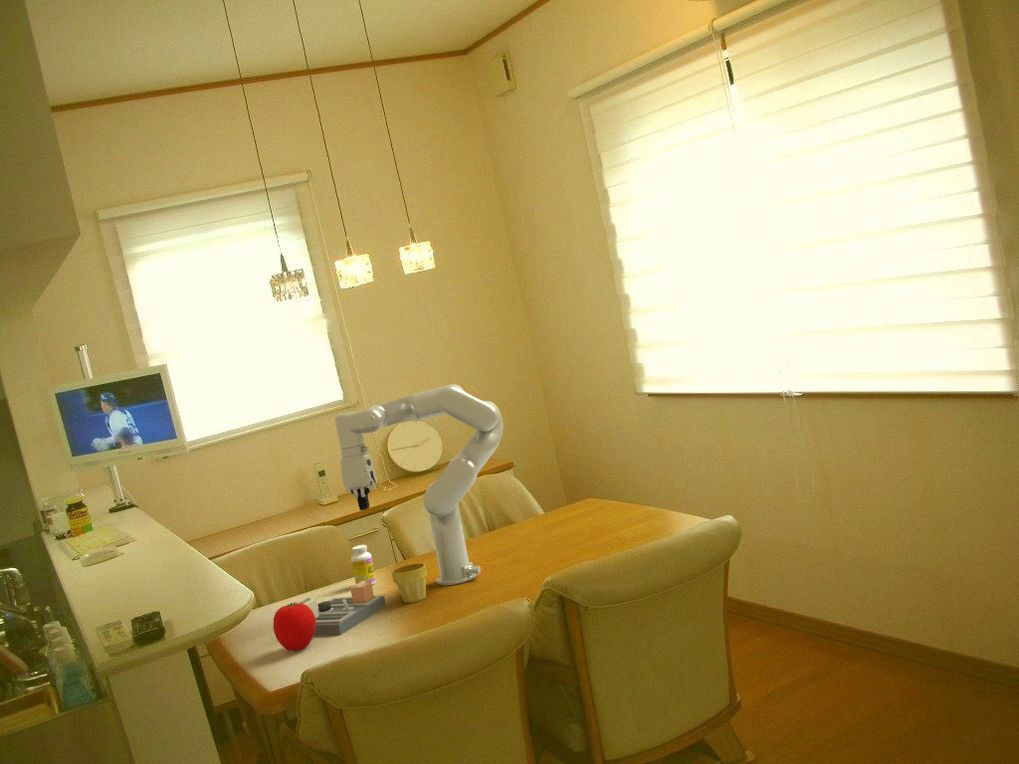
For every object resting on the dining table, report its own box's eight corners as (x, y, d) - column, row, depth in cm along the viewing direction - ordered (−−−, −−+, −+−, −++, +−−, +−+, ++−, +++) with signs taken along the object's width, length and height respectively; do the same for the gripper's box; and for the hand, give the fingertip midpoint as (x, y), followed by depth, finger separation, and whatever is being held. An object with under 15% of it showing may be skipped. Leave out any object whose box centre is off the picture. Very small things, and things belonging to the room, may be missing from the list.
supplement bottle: (372, 586, 329) (365, 548, 328) (353, 589, 331) (346, 550, 330) (379, 580, 336) (372, 542, 335) (360, 583, 337) (353, 545, 336)
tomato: (269, 657, 272) (260, 611, 272) (292, 642, 283) (283, 598, 282) (305, 655, 268) (296, 608, 267) (326, 640, 278) (317, 595, 278)
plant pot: (391, 602, 306) (384, 571, 305) (419, 592, 312) (413, 561, 311) (409, 606, 297) (402, 574, 297) (438, 595, 303) (432, 564, 303)
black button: (333, 607, 298) (332, 600, 298) (326, 611, 295) (325, 604, 295) (323, 607, 300) (322, 601, 300) (316, 611, 297) (315, 605, 297)
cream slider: (319, 616, 293) (315, 597, 292) (310, 621, 289) (306, 602, 288) (306, 616, 295) (303, 597, 294) (297, 622, 291) (293, 603, 290)
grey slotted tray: (386, 605, 303) (382, 584, 303) (340, 634, 281) (336, 611, 281) (336, 608, 311) (332, 587, 310) (288, 636, 289) (284, 614, 289)
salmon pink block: (374, 598, 301) (370, 580, 301) (366, 603, 297) (362, 585, 297) (361, 599, 303) (358, 581, 303) (353, 604, 299) (349, 585, 299)
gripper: (380, 446, 316) (391, 504, 317) (340, 451, 323) (351, 508, 324) (367, 451, 309) (378, 510, 311) (327, 456, 316) (338, 514, 317)
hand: (364, 509), depth 317 cm, fingers closed
